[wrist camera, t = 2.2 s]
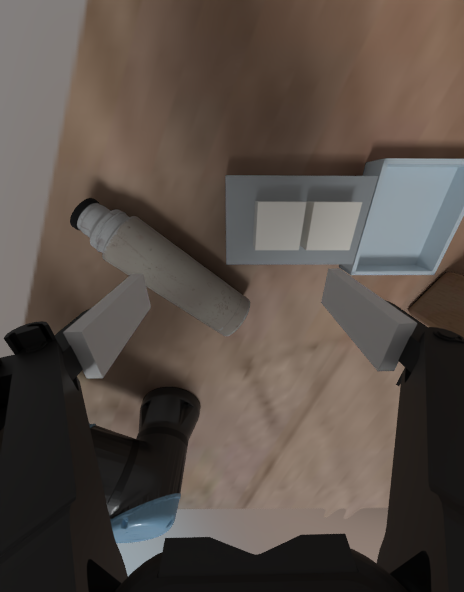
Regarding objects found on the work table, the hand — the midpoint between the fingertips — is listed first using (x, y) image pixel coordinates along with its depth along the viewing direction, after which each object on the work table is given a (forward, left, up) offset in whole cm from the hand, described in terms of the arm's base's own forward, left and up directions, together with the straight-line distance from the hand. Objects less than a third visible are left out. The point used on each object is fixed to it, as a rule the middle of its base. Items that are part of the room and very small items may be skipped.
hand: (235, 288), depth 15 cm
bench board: (+9, +2, -22) cm, 23 cm away
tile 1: (+13, +2, -17) cm, 22 cm away
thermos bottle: (+1, -14, -18) cm, 22 cm away
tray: (+27, +2, -22) cm, 34 cm away
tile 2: (+6, +2, -17) cm, 18 cm away
